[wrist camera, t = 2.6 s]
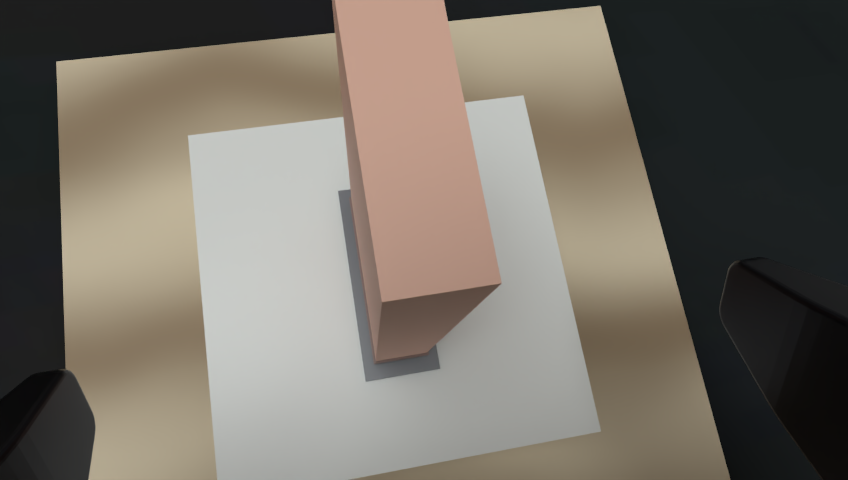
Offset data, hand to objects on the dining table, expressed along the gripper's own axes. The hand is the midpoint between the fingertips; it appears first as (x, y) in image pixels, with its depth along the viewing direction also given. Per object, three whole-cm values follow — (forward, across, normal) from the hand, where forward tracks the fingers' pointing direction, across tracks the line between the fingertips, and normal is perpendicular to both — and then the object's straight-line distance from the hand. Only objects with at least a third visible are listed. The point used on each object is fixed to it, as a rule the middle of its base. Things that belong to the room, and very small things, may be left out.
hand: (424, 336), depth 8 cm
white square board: (+9, 0, +6) cm, 11 cm away
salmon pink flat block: (+6, 0, +3) cm, 7 cm away
